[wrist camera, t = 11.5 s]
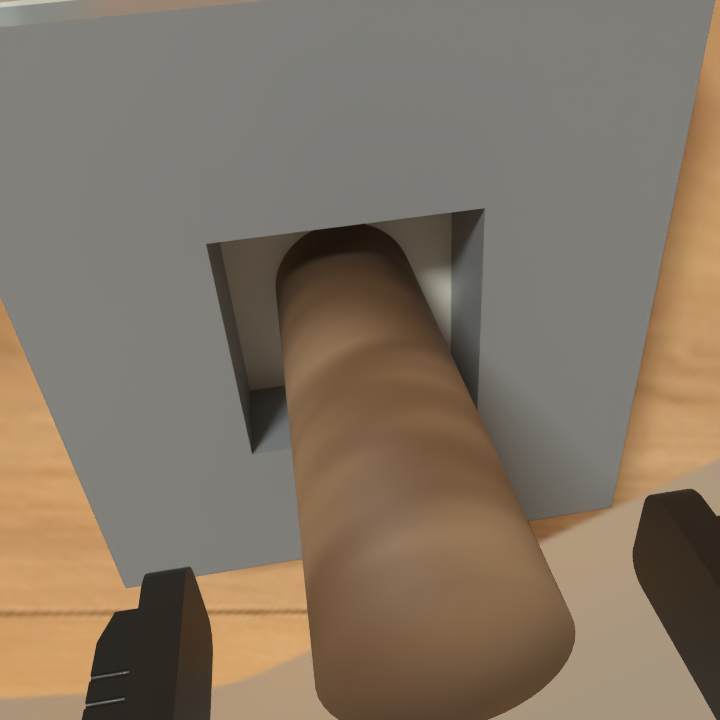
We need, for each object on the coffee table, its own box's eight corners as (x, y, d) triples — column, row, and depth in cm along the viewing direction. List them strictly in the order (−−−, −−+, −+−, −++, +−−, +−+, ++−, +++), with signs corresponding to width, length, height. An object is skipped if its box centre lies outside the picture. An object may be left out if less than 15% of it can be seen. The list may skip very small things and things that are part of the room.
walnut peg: (409, 213, 19) (591, 557, 9) (412, 333, 21) (561, 709, 12) (265, 231, 19) (299, 606, 9) (285, 351, 21) (328, 753, 11)
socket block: (630, -60, 17) (724, -46, 14) (564, 429, 26) (611, 507, 23) (-40, 6, 16) (-111, 38, 12) (140, 496, 25) (125, 588, 22)
